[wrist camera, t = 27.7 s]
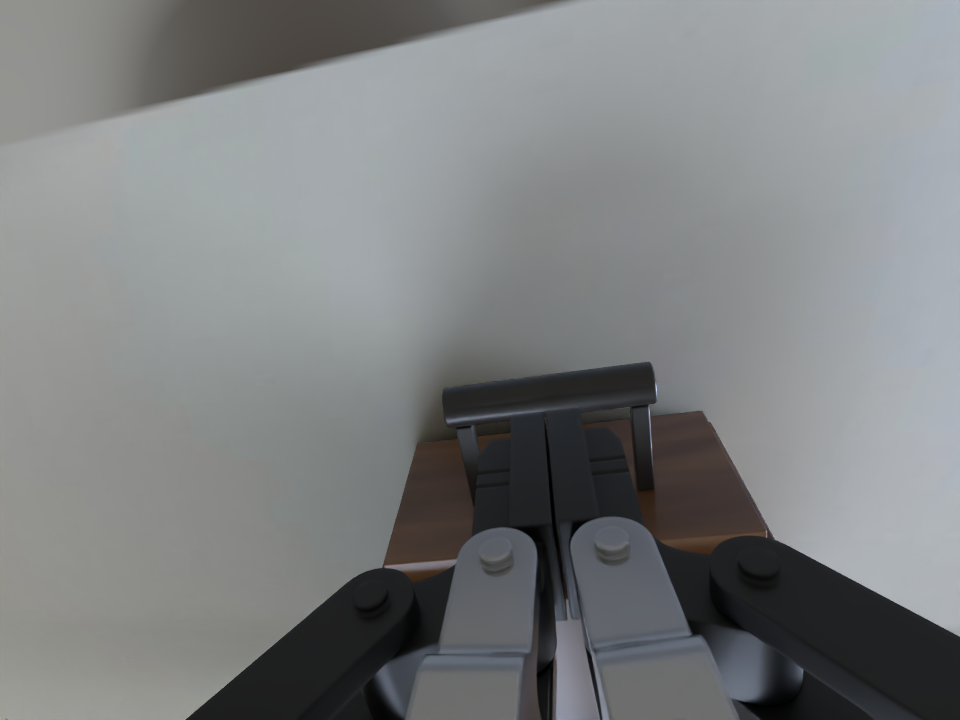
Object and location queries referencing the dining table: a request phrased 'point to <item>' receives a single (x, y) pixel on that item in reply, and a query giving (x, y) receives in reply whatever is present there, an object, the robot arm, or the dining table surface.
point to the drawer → (454, 463)
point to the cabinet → (572, 669)
